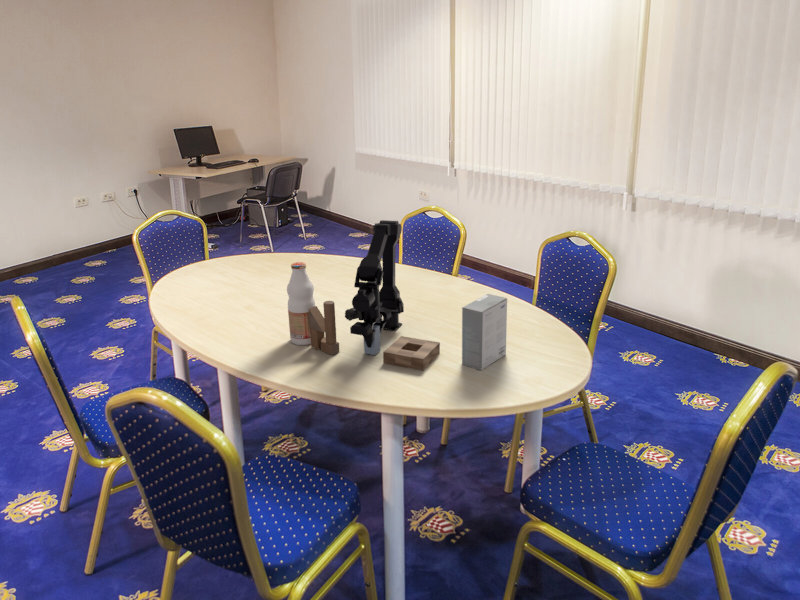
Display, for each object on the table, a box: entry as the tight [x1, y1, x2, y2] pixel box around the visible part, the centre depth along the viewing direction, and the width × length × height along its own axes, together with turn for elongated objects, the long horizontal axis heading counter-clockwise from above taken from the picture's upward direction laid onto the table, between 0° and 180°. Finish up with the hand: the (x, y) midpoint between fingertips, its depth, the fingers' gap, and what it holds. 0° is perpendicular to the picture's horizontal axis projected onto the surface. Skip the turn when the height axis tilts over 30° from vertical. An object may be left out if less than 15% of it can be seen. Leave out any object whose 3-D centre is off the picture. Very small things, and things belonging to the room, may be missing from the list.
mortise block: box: [382, 335, 441, 371], centre depth 206 cm, size 14×14×4 cm
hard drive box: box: [461, 293, 508, 371], centre depth 201 cm, size 16×8×20 cm, turn 141°
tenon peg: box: [363, 325, 381, 356], centre depth 210 cm, size 4×4×9 cm
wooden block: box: [309, 300, 340, 356], centre depth 211 cm, size 4×11×18 cm, turn 48°
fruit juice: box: [286, 261, 316, 346], centre depth 217 cm, size 9×9×28 cm
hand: (372, 344), depth 210 cm, fingers closed on tenon peg, 4 cm apart
